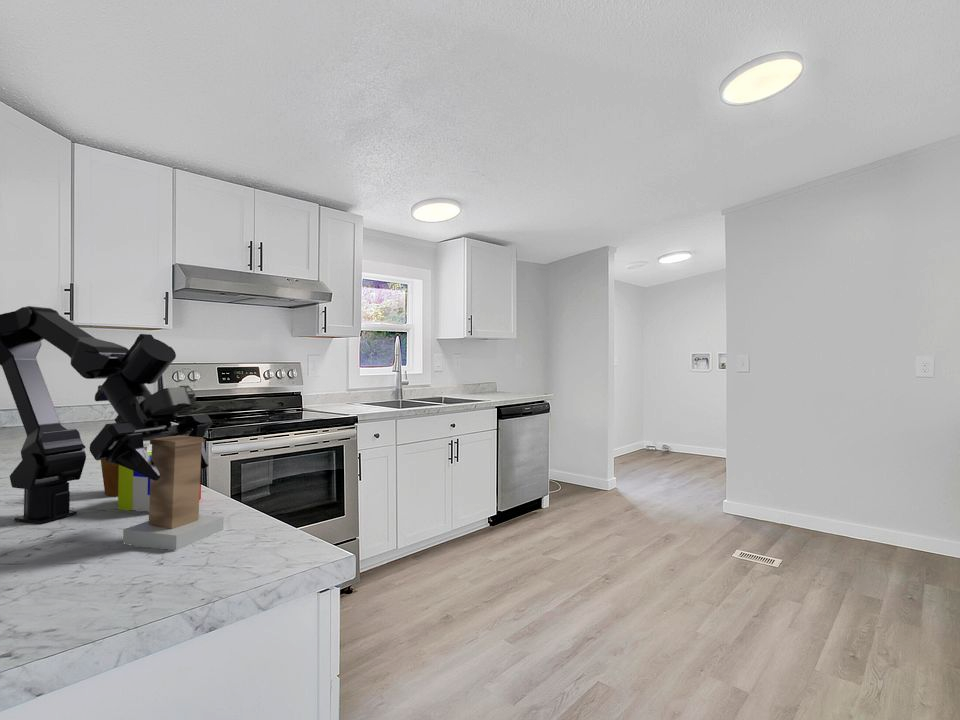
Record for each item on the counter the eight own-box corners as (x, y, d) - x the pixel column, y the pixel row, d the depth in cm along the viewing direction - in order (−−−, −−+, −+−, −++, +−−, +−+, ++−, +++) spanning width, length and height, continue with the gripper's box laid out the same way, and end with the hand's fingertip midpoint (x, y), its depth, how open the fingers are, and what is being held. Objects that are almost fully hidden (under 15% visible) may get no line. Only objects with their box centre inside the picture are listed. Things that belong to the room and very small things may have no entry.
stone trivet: (122, 548, 80) (123, 529, 80) (174, 528, 90) (174, 511, 90) (176, 555, 78) (176, 535, 78) (223, 534, 88) (223, 516, 88)
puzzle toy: (162, 513, 97) (163, 460, 97) (117, 509, 99) (118, 457, 99) (200, 500, 107) (201, 452, 107) (159, 496, 109) (160, 449, 109)
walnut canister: (146, 524, 82) (150, 439, 83) (175, 516, 88) (179, 435, 88) (171, 529, 81) (175, 441, 81) (200, 520, 86) (203, 437, 86)
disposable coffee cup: (83, 496, 108) (85, 439, 108) (124, 486, 117) (125, 433, 117) (120, 499, 105) (122, 441, 106) (159, 489, 115) (160, 435, 115)
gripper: (104, 370, 77) (159, 449, 73) (205, 369, 94) (253, 432, 91) (66, 420, 79) (117, 499, 75) (171, 410, 97) (217, 473, 93)
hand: (183, 472), depth 84 cm, fingers open, 9 cm apart
